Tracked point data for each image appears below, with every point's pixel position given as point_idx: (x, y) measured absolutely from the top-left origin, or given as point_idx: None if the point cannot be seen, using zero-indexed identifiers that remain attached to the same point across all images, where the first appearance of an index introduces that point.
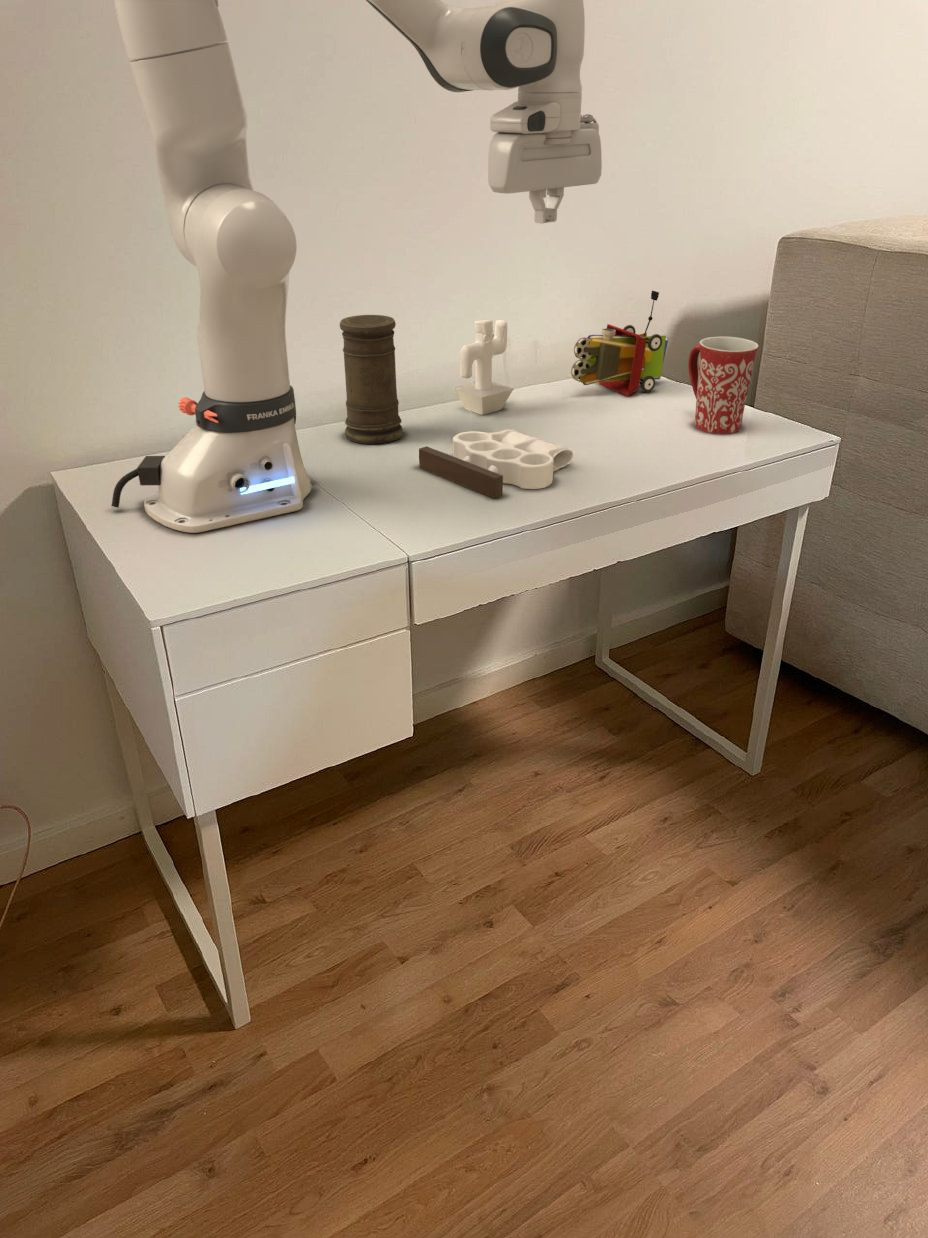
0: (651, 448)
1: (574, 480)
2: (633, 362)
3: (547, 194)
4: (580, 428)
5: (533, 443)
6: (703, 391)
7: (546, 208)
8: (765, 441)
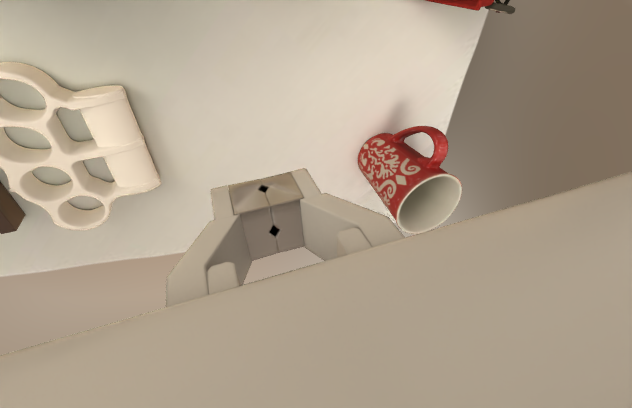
0: (277, 171)
1: (139, 208)
2: (443, 3)
3: (337, 236)
4: (254, 71)
5: (113, 157)
6: (375, 177)
7: (294, 211)
8: (374, 202)
